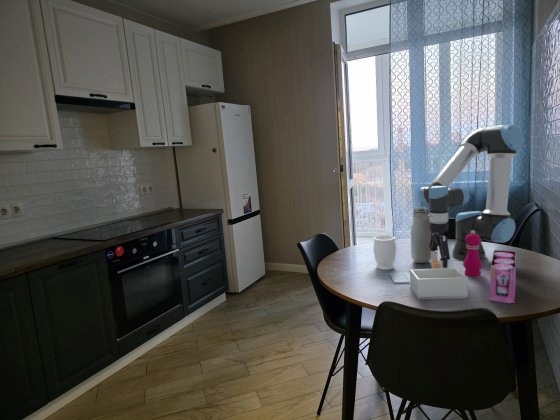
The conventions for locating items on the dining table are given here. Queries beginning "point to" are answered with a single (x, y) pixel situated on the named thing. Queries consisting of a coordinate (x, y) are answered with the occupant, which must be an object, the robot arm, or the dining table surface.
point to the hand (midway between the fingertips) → (439, 269)
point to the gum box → (503, 276)
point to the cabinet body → (438, 283)
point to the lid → (405, 276)
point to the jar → (384, 252)
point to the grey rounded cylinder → (420, 236)
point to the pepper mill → (472, 255)
